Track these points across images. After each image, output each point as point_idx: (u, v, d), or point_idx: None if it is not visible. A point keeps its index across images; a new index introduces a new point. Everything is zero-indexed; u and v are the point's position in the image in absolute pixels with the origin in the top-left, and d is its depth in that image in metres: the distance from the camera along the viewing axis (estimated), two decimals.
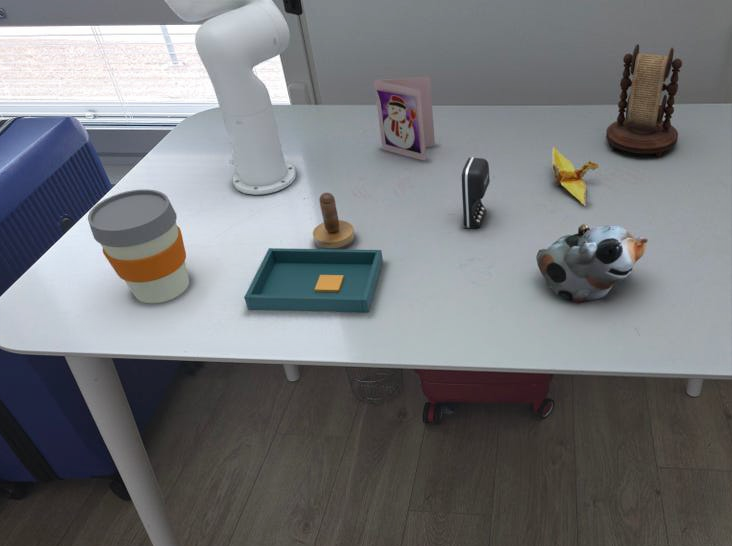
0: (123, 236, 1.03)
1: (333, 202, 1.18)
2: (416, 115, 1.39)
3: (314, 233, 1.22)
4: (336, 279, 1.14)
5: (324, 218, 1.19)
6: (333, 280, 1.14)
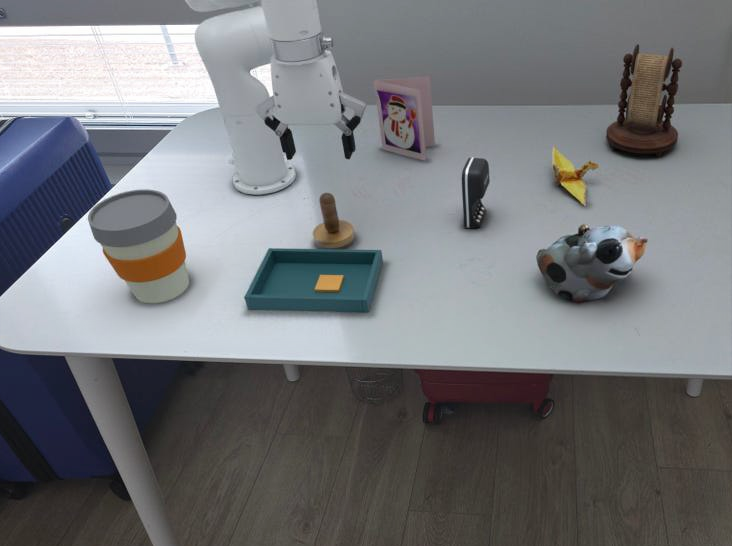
0: (123, 236, 1.03)
1: (333, 202, 1.18)
2: (416, 115, 1.39)
3: (314, 233, 1.22)
4: (336, 279, 1.14)
5: (324, 218, 1.19)
6: (333, 280, 1.14)
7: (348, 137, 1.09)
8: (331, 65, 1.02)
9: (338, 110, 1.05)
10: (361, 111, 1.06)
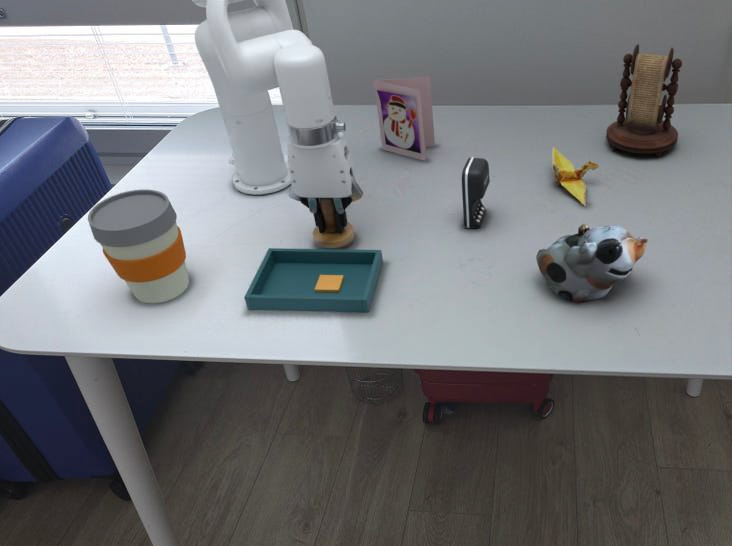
0: (123, 236, 1.03)
1: (333, 202, 1.18)
2: (416, 115, 1.39)
3: (314, 233, 1.22)
4: (336, 279, 1.14)
5: (324, 218, 1.19)
6: (333, 280, 1.14)
7: (340, 214, 1.19)
8: (343, 146, 1.10)
9: (349, 186, 1.14)
10: (357, 198, 1.17)
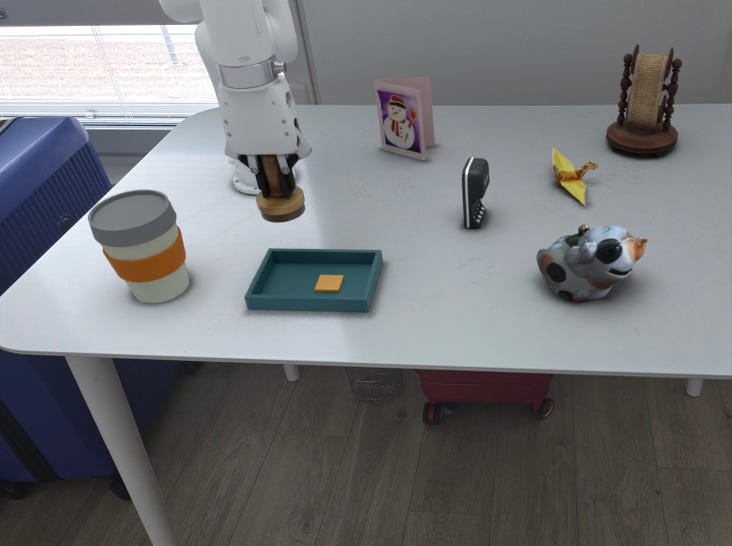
0: (123, 236, 1.03)
1: (277, 160, 1.01)
2: (416, 115, 1.39)
3: (257, 198, 1.05)
4: (336, 279, 1.14)
5: (268, 180, 1.03)
6: (333, 280, 1.14)
7: (286, 175, 1.02)
8: (285, 91, 0.94)
9: (293, 139, 0.97)
10: (305, 155, 1.00)
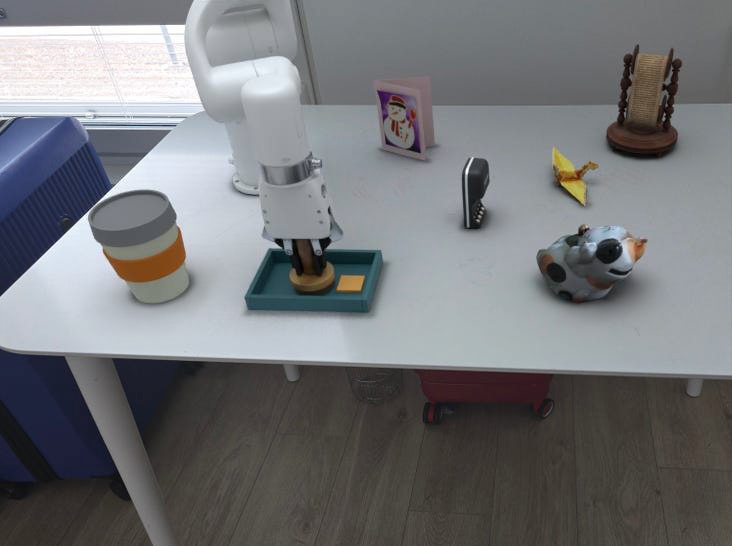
0: (123, 236, 1.03)
1: (310, 242, 1.08)
2: (416, 115, 1.39)
3: (291, 275, 1.12)
4: (358, 279, 1.14)
5: (301, 259, 1.09)
6: (354, 281, 1.14)
7: (319, 256, 1.09)
8: (320, 184, 1.01)
9: (327, 226, 1.04)
10: (337, 238, 1.07)
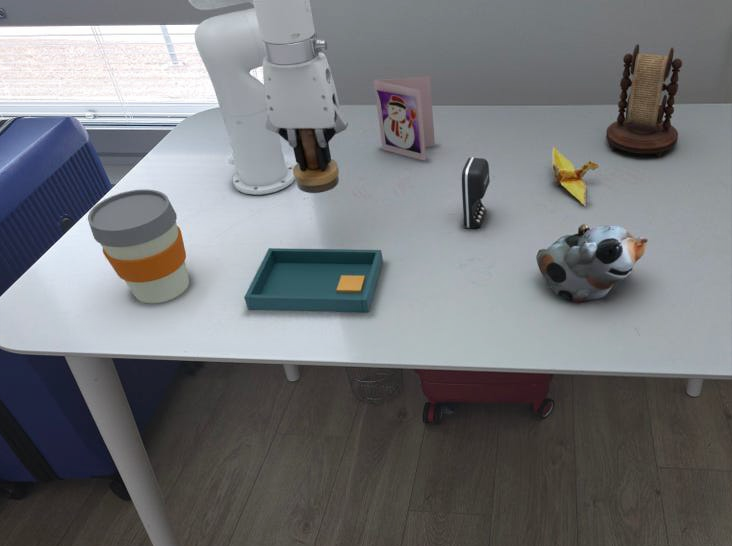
0: (123, 236, 1.03)
1: (314, 133, 1.07)
2: (416, 115, 1.39)
3: (294, 170, 1.11)
4: (358, 279, 1.14)
5: (305, 152, 1.09)
6: (354, 281, 1.14)
7: (323, 149, 1.08)
8: (325, 68, 1.00)
9: (331, 114, 1.03)
10: (341, 129, 1.06)
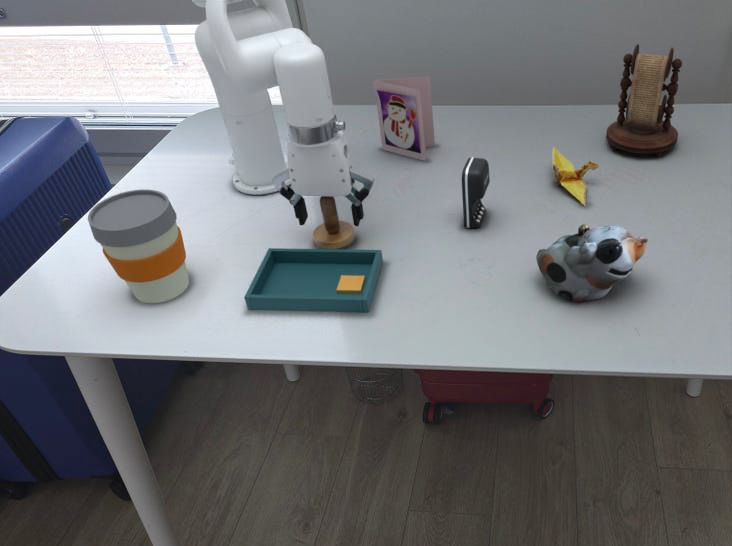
0: (123, 236, 1.03)
1: (333, 203, 1.17)
2: (416, 115, 1.39)
3: (314, 234, 1.22)
4: (358, 279, 1.14)
5: (324, 219, 1.19)
6: (354, 281, 1.14)
7: (357, 207, 1.18)
8: (343, 145, 1.10)
9: (348, 184, 1.14)
10: (370, 185, 1.15)
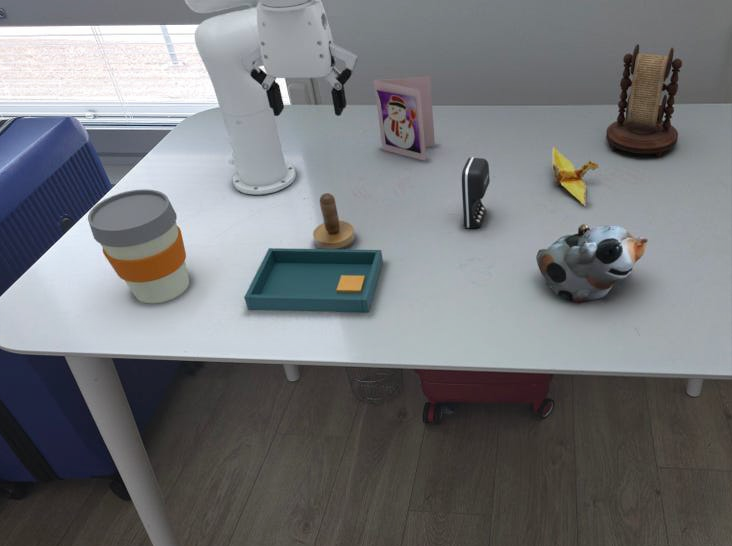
0: (123, 236, 1.03)
1: (333, 203, 1.17)
2: (416, 115, 1.39)
3: (314, 234, 1.22)
4: (358, 279, 1.14)
5: (324, 219, 1.19)
6: (354, 281, 1.14)
7: (338, 92, 1.04)
8: (320, 13, 0.97)
9: (328, 62, 1.00)
10: (352, 64, 1.01)
